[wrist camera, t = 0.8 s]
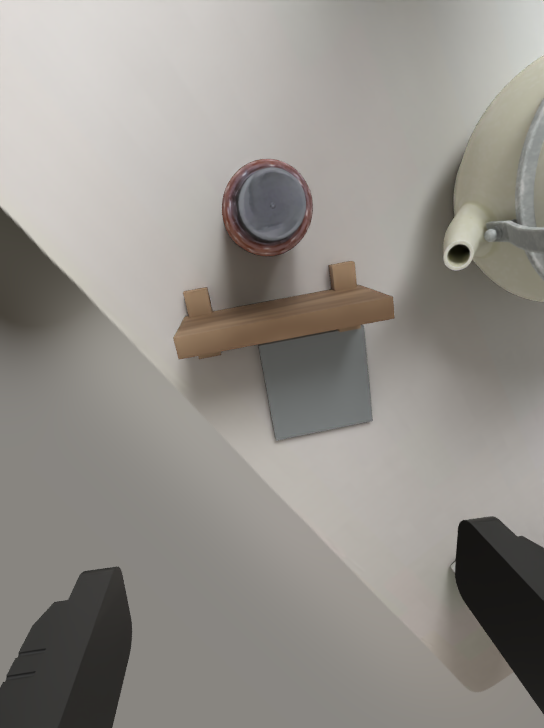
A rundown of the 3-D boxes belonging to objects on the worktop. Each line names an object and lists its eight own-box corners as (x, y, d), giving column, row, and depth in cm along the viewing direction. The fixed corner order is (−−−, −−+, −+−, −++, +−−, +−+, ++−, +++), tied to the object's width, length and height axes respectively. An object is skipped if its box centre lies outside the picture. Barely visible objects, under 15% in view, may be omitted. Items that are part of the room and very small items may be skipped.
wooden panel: (179, 292, 34) (165, 307, 27) (355, 260, 35) (391, 266, 28) (194, 356, 36) (186, 387, 29) (361, 324, 37) (396, 346, 30)
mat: (258, 344, 37) (258, 345, 36) (361, 324, 37) (363, 325, 37) (275, 437, 40) (276, 440, 39) (370, 418, 40) (372, 420, 40)
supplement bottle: (305, 229, 34) (341, 226, 23) (247, 266, 34) (256, 279, 24) (270, 163, 32) (292, 126, 21) (209, 202, 33) (200, 185, 22)
